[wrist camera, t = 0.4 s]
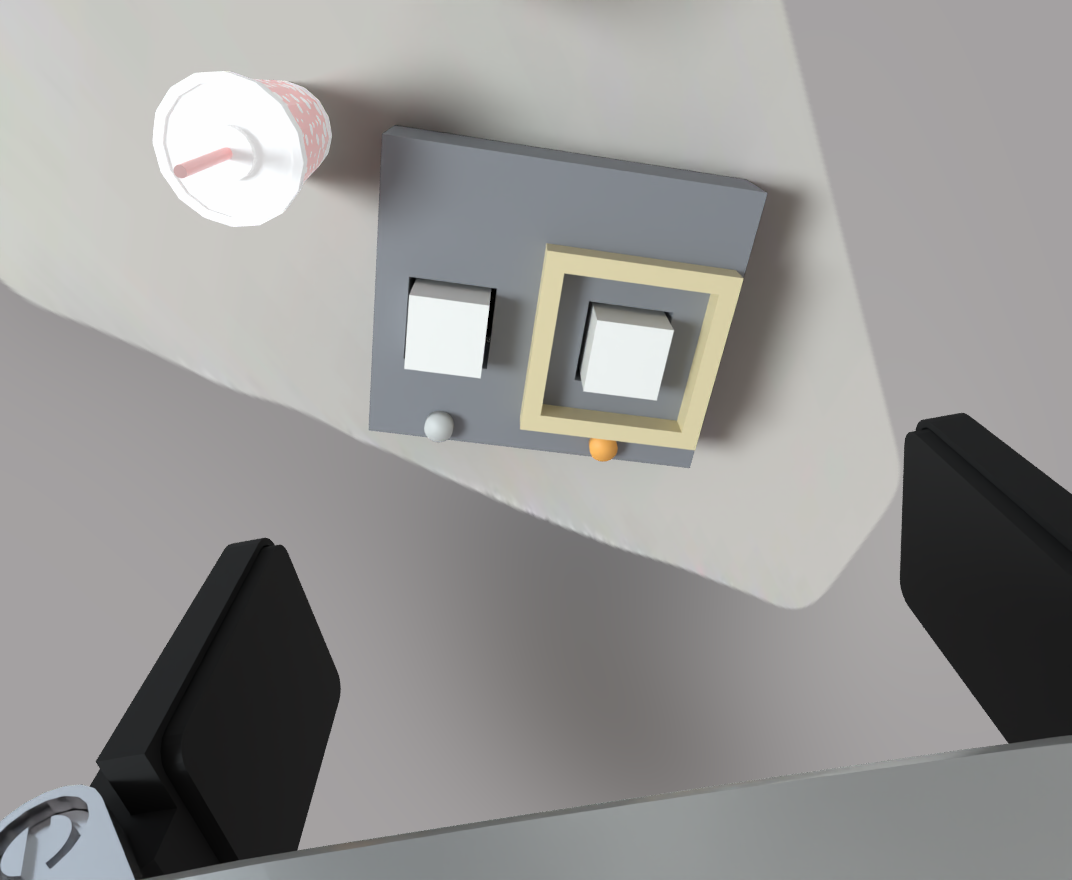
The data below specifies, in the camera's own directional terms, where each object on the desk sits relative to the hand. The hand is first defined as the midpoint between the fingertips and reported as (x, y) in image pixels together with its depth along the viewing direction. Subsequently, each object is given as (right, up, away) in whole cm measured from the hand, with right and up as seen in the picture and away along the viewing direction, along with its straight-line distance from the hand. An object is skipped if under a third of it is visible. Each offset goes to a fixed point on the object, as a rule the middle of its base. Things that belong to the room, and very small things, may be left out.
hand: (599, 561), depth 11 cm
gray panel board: (-1, +10, +32) cm, 34 cm away
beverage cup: (-14, +18, +28) cm, 36 cm away
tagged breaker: (+4, +8, +31) cm, 32 cm away
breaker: (-6, +9, +30) cm, 32 cm away
